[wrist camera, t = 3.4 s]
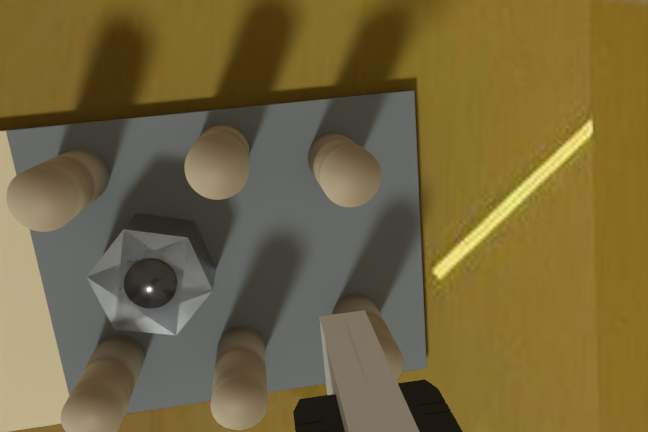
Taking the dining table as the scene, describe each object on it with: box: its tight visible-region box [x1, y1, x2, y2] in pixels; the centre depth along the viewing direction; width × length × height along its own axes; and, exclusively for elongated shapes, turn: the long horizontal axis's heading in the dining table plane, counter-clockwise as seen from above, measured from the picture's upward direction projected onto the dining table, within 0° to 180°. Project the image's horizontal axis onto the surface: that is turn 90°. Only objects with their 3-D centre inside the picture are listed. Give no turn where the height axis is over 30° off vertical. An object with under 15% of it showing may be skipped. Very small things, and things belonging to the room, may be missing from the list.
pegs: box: [6, 124, 404, 432], centre depth 27 cm, size 16×14×6 cm
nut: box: [87, 213, 216, 335], centre depth 27 cm, size 5×6×3 cm
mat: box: [0, 90, 427, 432], centre depth 29 cm, size 30×16×1 cm, turn 95°
